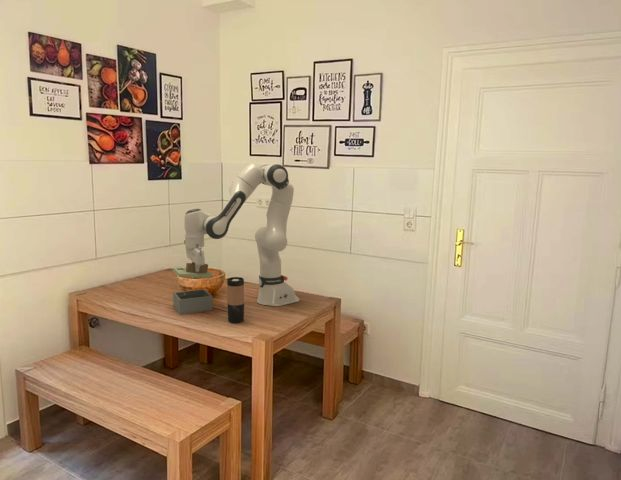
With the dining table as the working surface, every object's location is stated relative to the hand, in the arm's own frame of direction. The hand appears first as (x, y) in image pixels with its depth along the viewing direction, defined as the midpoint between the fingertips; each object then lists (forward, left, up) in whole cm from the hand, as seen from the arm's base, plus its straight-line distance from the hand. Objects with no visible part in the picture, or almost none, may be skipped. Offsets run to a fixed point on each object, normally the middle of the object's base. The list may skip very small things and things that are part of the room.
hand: (196, 270), depth 228 cm
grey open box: (+2, -2, -20) cm, 20 cm away
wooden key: (-4, -20, -20) cm, 28 cm away
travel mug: (-12, +22, -20) cm, 33 cm away
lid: (+2, -2, -2) cm, 3 cm away
